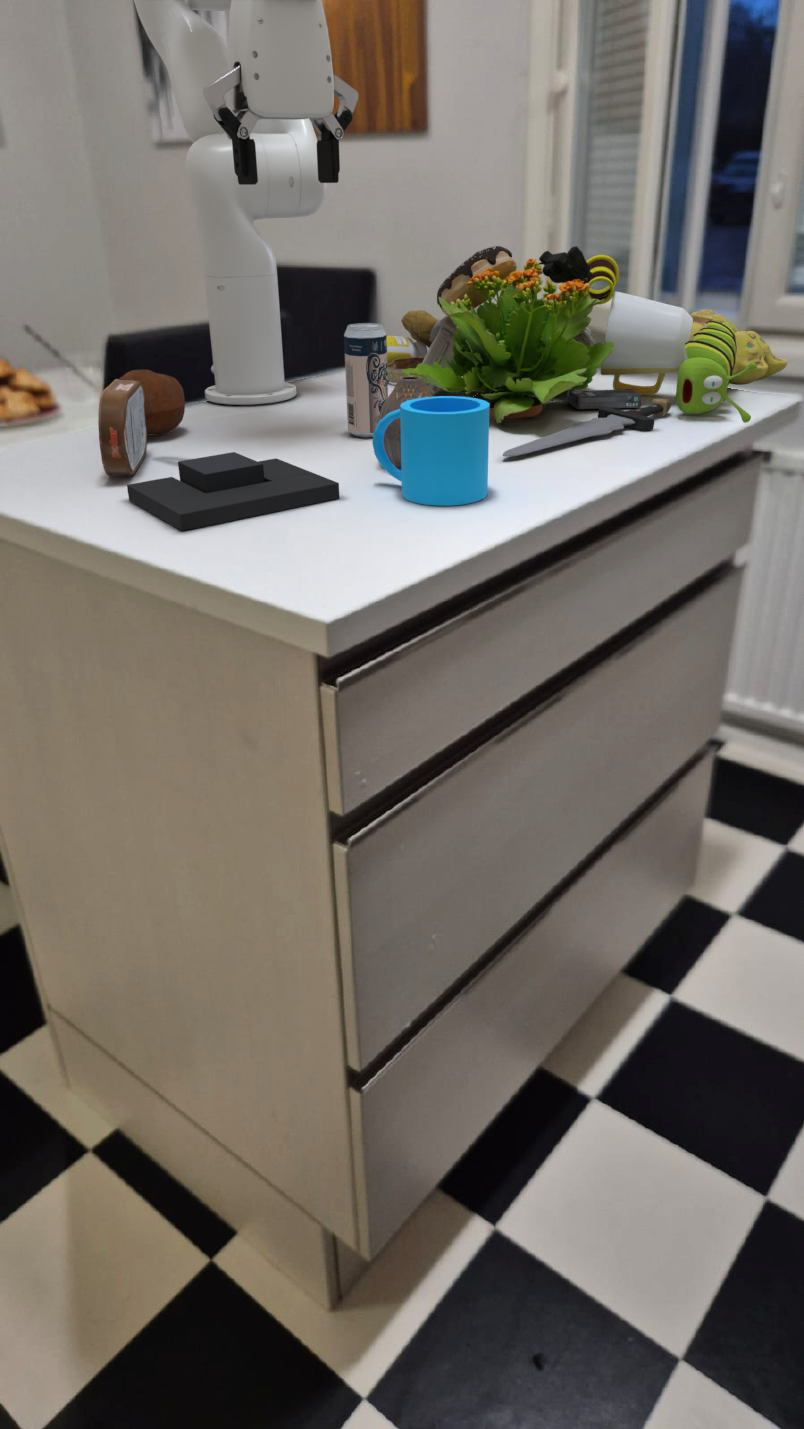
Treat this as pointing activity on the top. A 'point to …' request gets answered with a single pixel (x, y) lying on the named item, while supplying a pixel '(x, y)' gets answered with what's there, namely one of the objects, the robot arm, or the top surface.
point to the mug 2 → (644, 339)
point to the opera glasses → (601, 277)
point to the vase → (402, 392)
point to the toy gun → (565, 266)
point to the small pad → (220, 472)
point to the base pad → (233, 496)
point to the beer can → (365, 376)
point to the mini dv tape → (604, 399)
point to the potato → (159, 400)
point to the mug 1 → (439, 449)
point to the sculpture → (419, 325)
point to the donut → (475, 264)
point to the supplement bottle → (403, 348)
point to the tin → (122, 427)
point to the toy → (708, 370)
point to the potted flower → (518, 343)
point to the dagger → (598, 426)
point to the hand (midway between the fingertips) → (289, 183)
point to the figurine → (743, 350)
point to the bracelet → (401, 367)
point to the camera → (441, 347)
